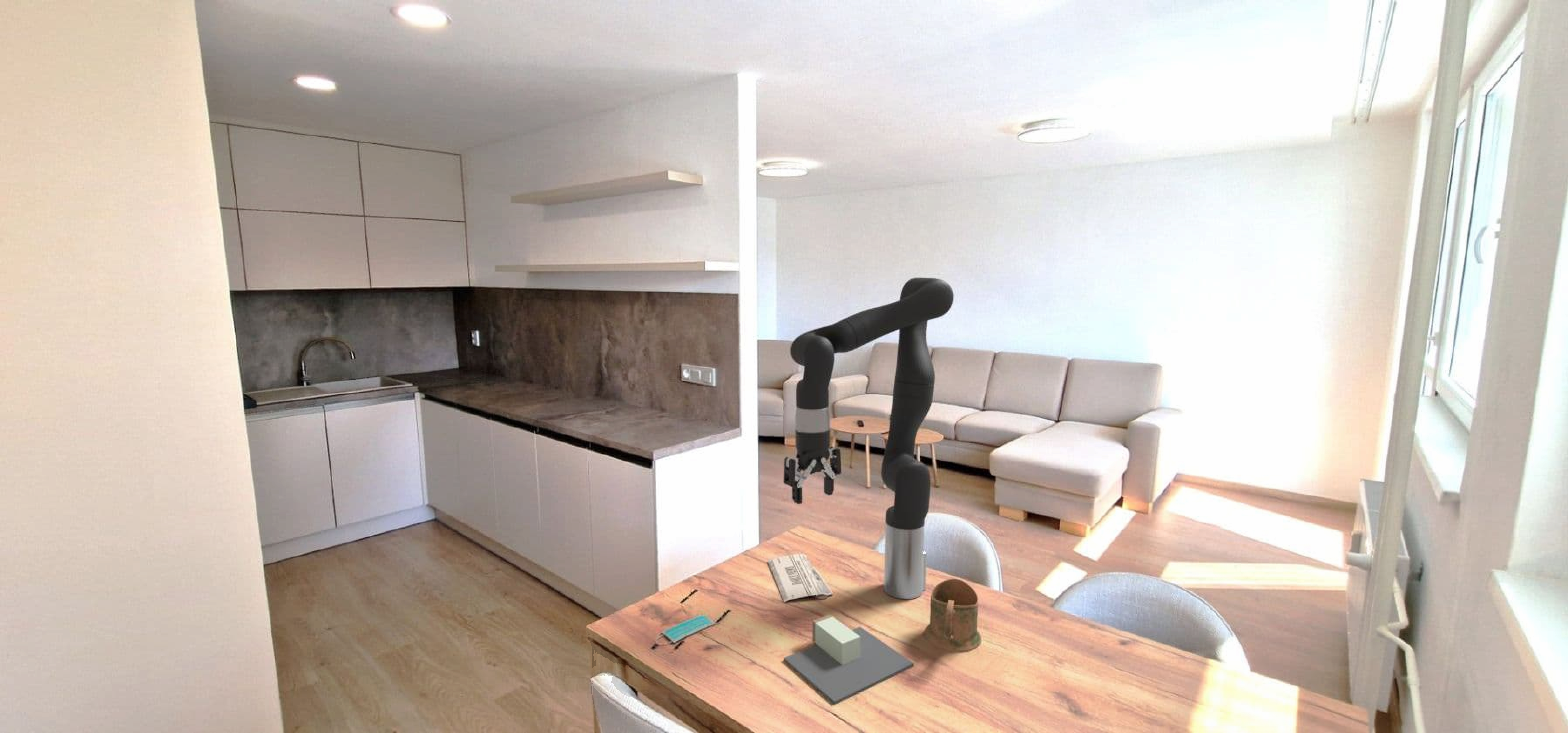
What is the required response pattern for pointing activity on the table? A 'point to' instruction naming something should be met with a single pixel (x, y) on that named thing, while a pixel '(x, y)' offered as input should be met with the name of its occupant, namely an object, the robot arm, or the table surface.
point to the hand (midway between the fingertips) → (813, 498)
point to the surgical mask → (688, 626)
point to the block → (836, 639)
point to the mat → (849, 667)
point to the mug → (953, 617)
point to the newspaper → (797, 578)
